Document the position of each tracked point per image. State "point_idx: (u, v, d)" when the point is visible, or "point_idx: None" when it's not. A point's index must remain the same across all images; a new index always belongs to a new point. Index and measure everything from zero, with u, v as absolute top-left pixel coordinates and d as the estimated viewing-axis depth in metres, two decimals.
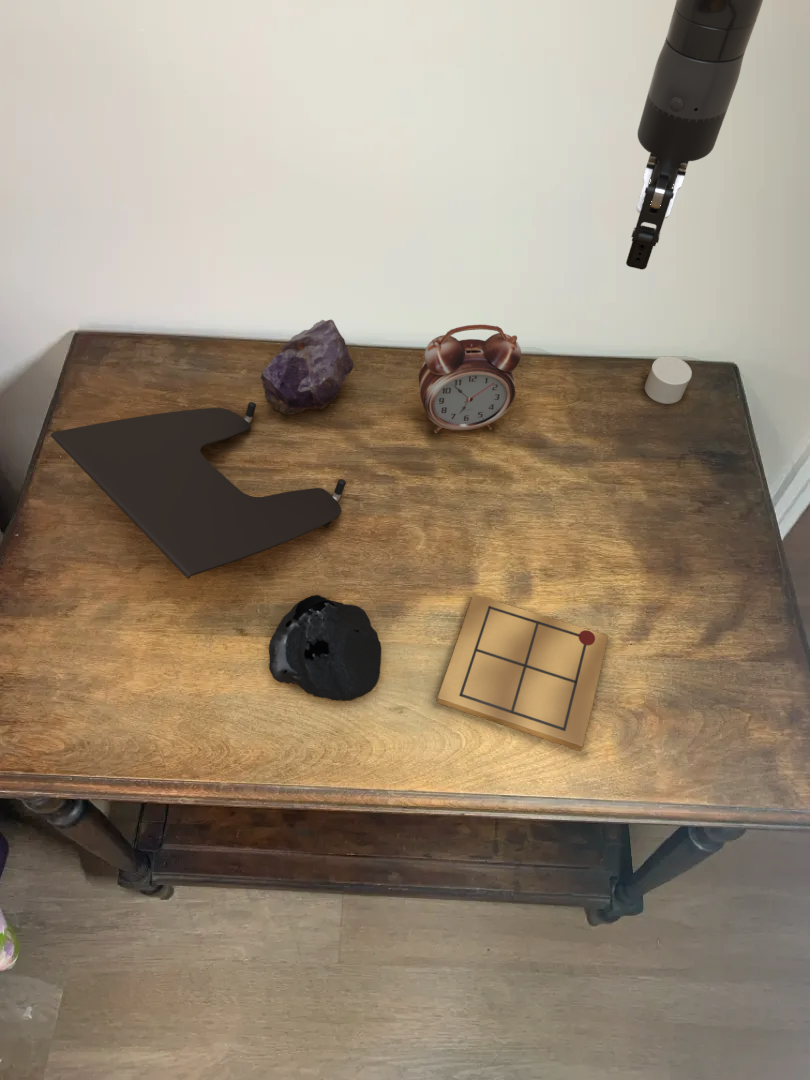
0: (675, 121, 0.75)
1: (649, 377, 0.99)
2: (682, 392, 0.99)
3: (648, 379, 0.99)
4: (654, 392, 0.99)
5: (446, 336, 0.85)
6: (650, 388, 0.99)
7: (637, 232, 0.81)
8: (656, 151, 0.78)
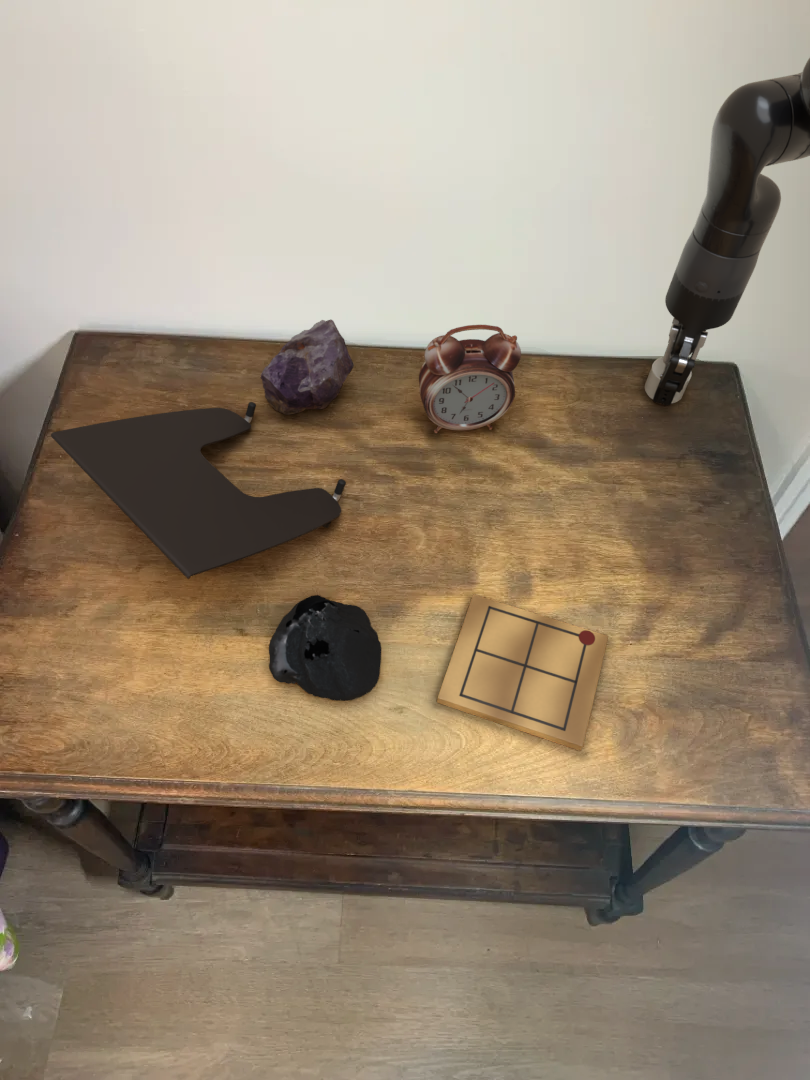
0: (700, 299, 0.85)
1: (649, 377, 0.99)
2: (682, 392, 0.99)
3: (648, 379, 0.99)
4: (654, 392, 0.99)
5: (446, 336, 0.85)
6: (650, 388, 0.99)
7: None
8: (682, 320, 0.88)
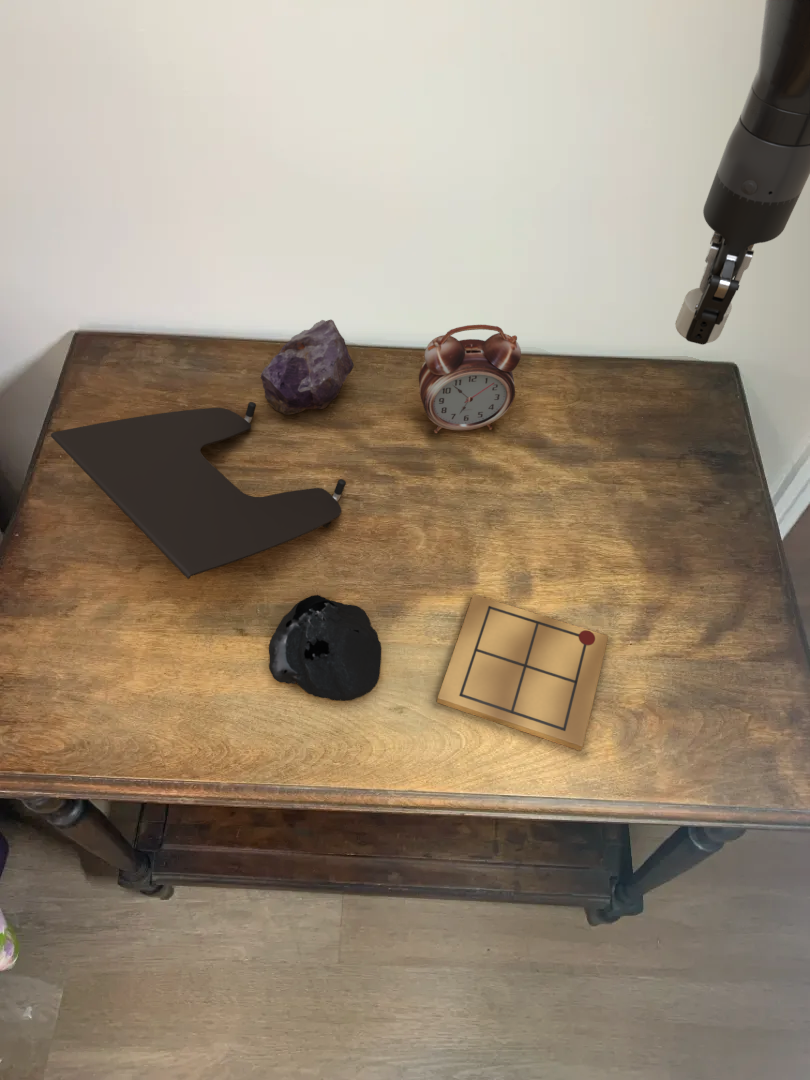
0: (747, 204, 0.71)
1: (681, 312, 0.85)
2: (720, 329, 0.84)
3: (680, 314, 0.85)
4: (686, 329, 0.85)
5: (446, 336, 0.85)
6: (682, 325, 0.85)
7: None
8: (724, 232, 0.74)
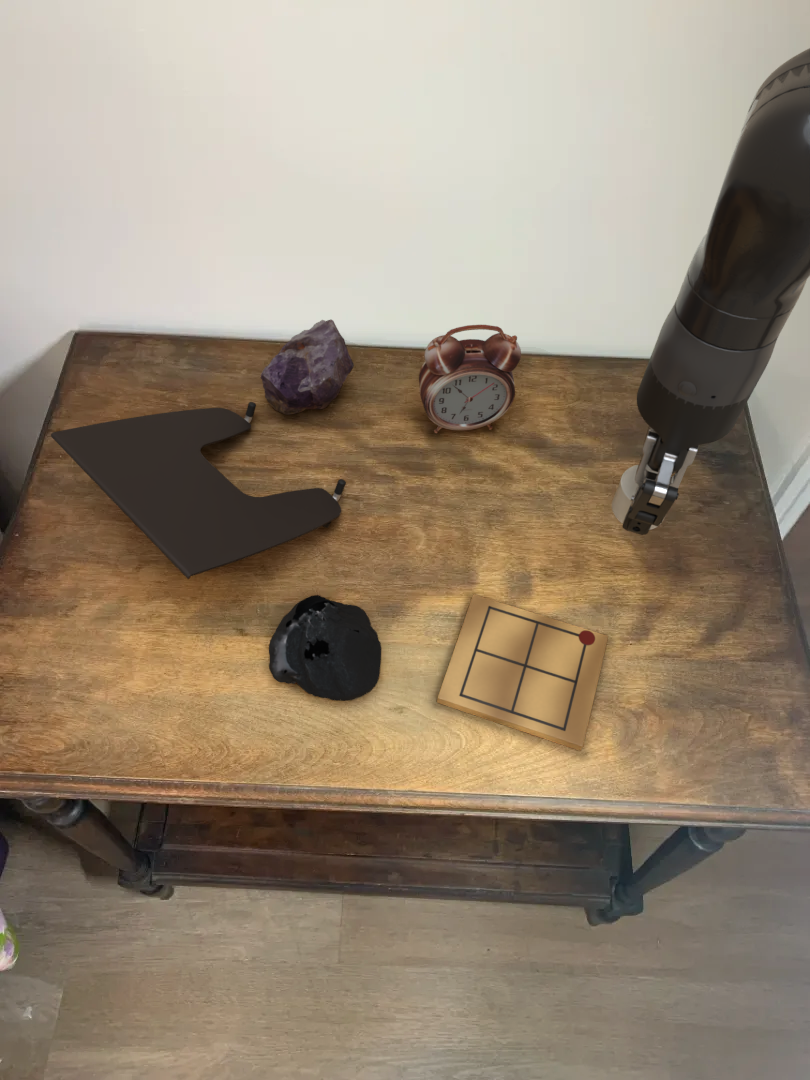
0: (685, 405, 0.56)
1: (617, 493, 0.71)
2: None
3: (616, 496, 0.71)
4: (623, 515, 0.70)
5: (446, 336, 0.85)
6: (618, 509, 0.71)
7: None
8: (660, 430, 0.59)
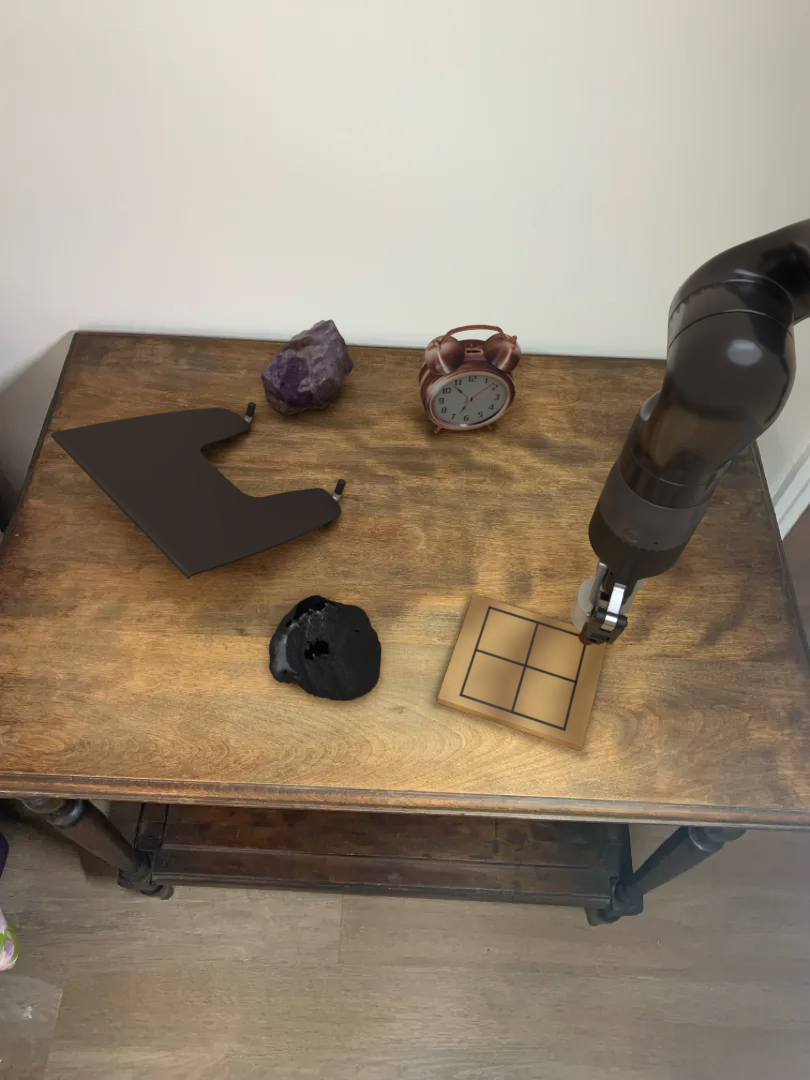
0: (631, 548, 0.61)
1: (575, 604, 0.75)
2: None
3: (574, 606, 0.75)
4: (581, 624, 0.74)
5: (446, 336, 0.85)
6: (576, 618, 0.75)
7: None
8: (609, 565, 0.63)
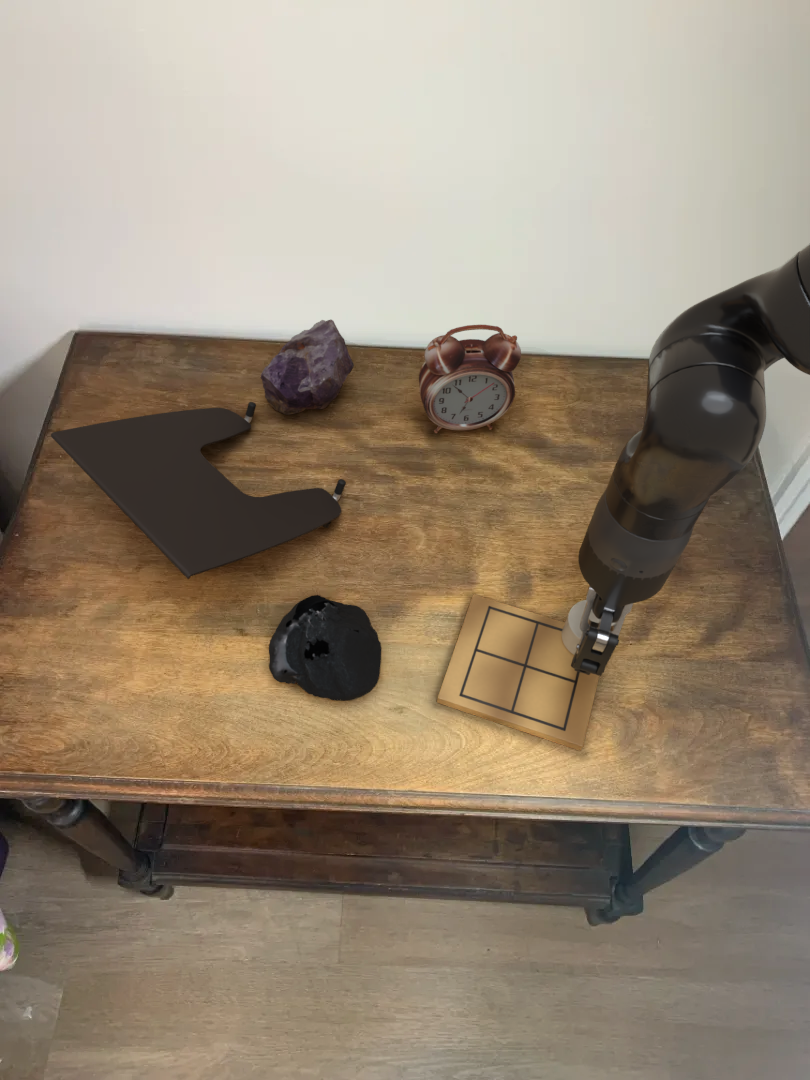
0: (618, 576, 0.64)
1: (565, 627, 0.78)
2: None
3: (565, 628, 0.78)
4: (571, 646, 0.78)
5: (446, 336, 0.85)
6: (567, 640, 0.78)
7: (579, 664, 0.70)
8: (598, 591, 0.67)
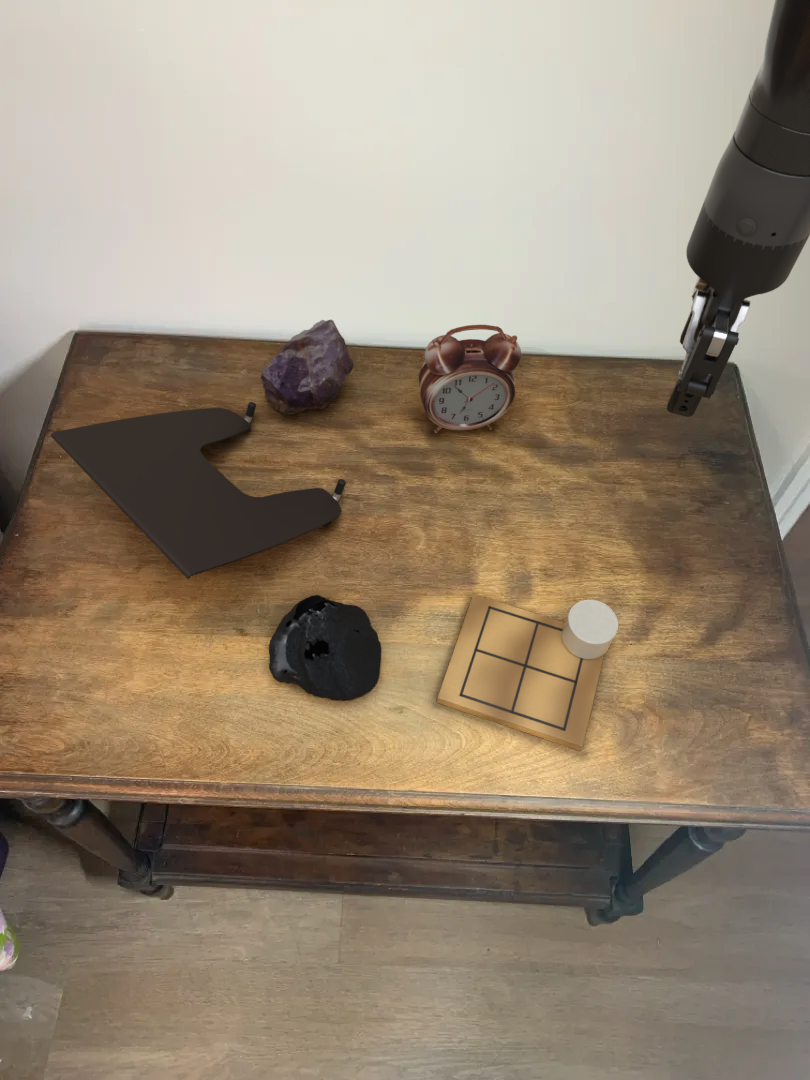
0: (743, 247, 0.55)
1: (565, 627, 0.78)
2: (607, 647, 0.78)
3: (565, 628, 0.78)
4: (571, 646, 0.78)
5: (446, 336, 0.85)
6: (567, 640, 0.78)
7: (686, 382, 0.61)
8: (714, 281, 0.58)
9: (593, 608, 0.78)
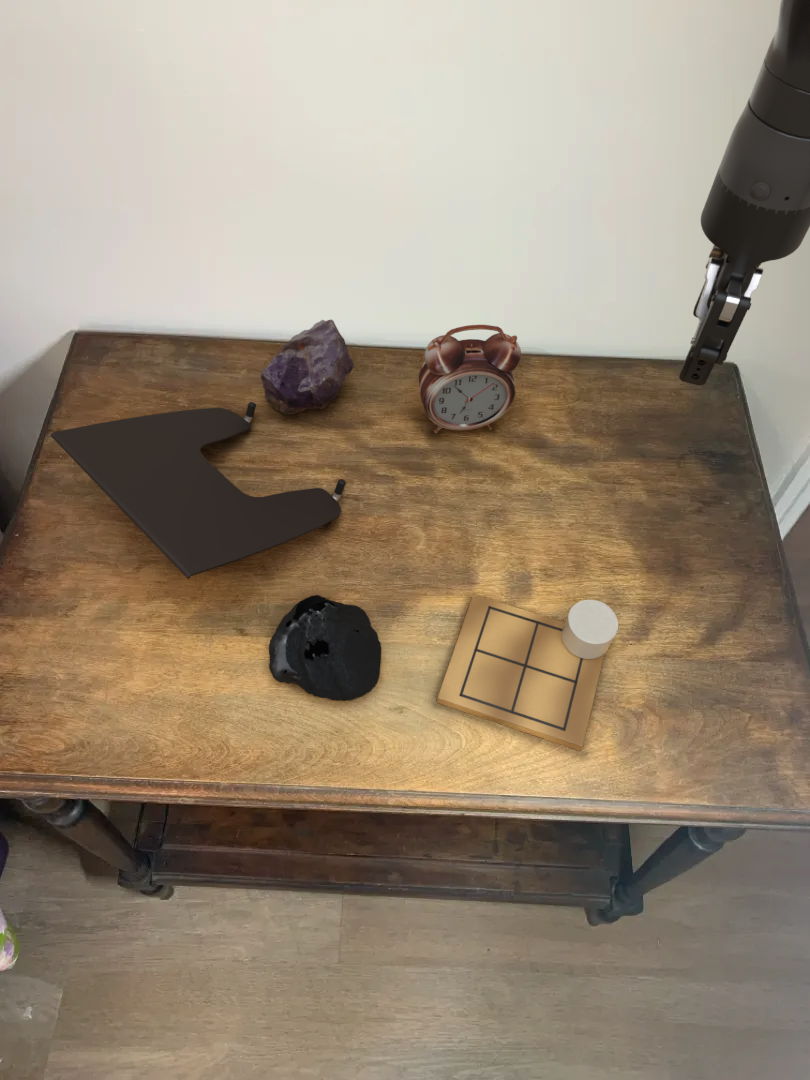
0: (757, 212, 0.56)
1: (565, 627, 0.78)
2: (607, 647, 0.78)
3: (565, 628, 0.78)
4: (571, 646, 0.78)
5: (446, 336, 0.85)
6: (567, 640, 0.78)
7: (699, 348, 0.62)
8: (728, 247, 0.59)
9: (593, 608, 0.78)
